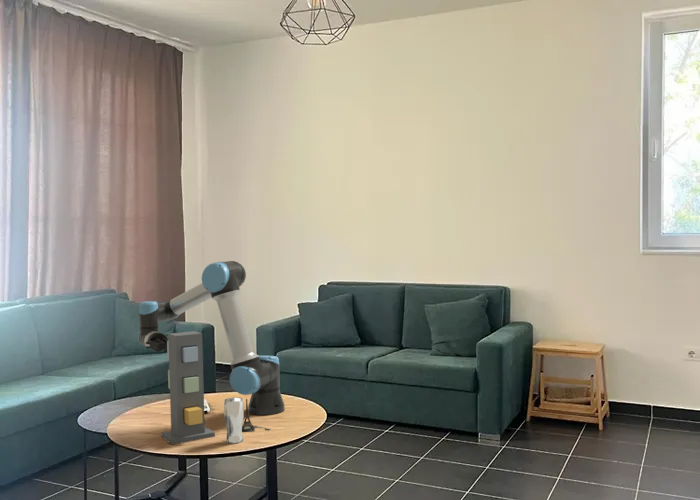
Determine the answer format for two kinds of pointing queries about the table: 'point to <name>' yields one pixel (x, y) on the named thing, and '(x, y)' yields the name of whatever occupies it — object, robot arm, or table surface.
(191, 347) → the blue button
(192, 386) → the sage button
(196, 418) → the amber button
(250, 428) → the eiffel tower figurine
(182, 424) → the button column
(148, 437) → the table surface
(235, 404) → the beer glass
